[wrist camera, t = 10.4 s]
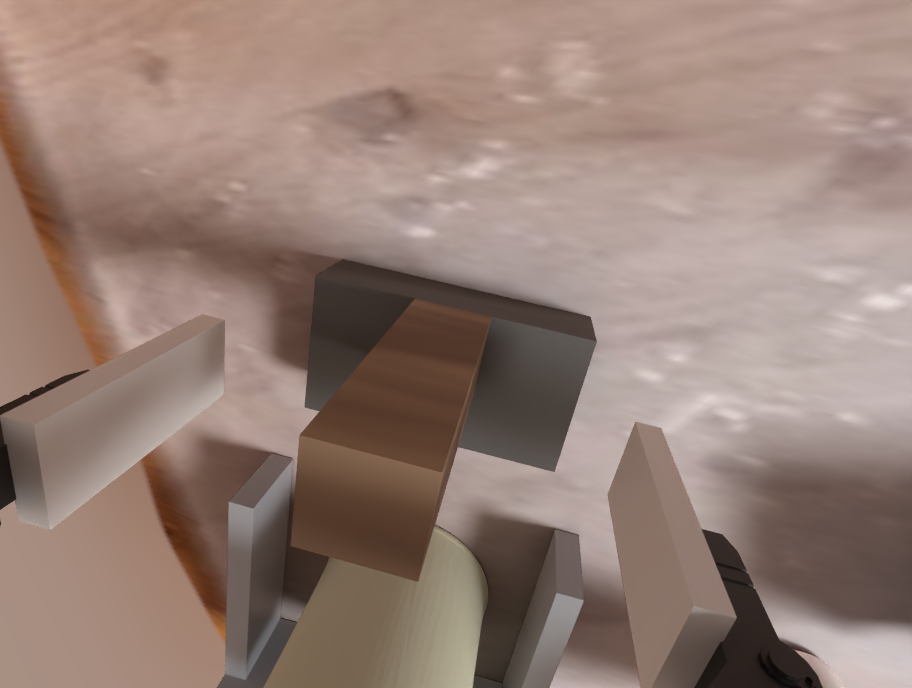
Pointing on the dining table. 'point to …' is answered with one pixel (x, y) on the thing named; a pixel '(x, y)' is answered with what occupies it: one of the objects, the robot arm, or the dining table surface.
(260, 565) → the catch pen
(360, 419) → the scraper
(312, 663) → the can
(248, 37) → the dining table surface
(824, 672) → the drinking glass
